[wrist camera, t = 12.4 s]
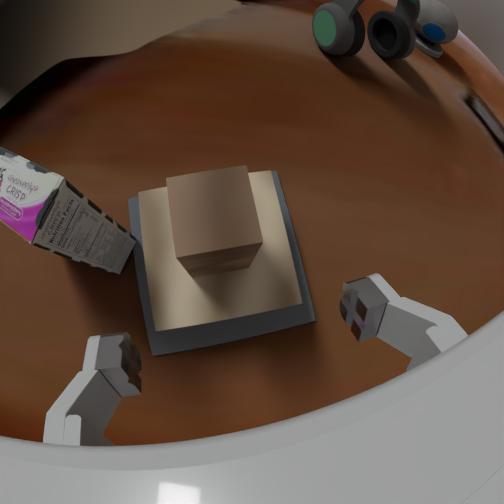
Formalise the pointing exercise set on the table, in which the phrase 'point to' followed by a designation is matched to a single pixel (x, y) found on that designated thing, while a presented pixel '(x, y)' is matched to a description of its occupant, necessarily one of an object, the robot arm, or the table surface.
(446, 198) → the table surface
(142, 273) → the mat
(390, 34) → the headphones
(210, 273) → the lid
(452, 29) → the webcam
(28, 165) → the candy bar box
